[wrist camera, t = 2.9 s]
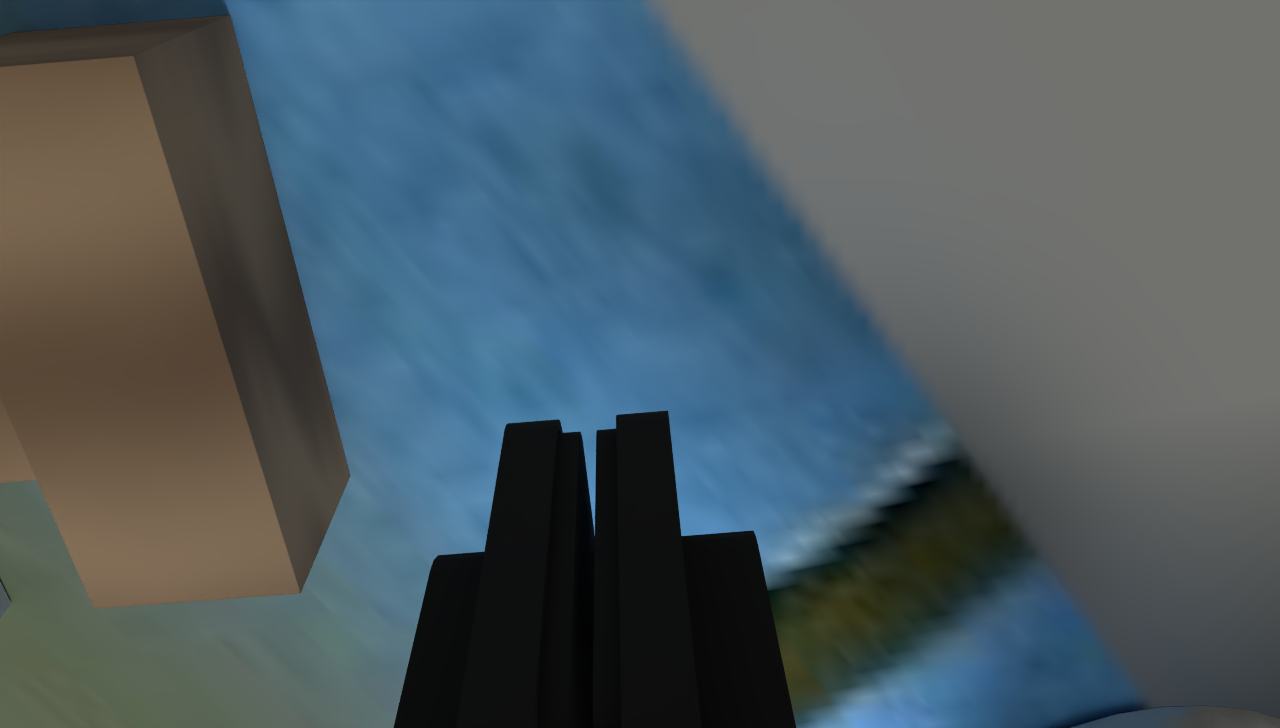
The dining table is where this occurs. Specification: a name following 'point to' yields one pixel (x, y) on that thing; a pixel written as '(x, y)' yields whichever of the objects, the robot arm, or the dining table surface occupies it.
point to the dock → (3, 600)
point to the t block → (156, 318)
